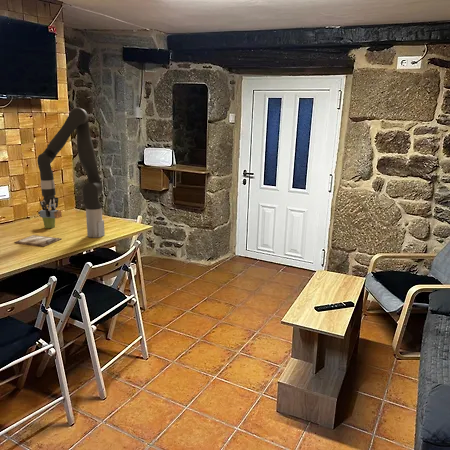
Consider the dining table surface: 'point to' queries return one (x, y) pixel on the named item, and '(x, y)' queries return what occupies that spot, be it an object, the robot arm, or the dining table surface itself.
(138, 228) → the dining table surface
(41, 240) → the clipboard
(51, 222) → the plant pot
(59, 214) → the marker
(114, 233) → the dining table surface
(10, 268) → the dining table surface
